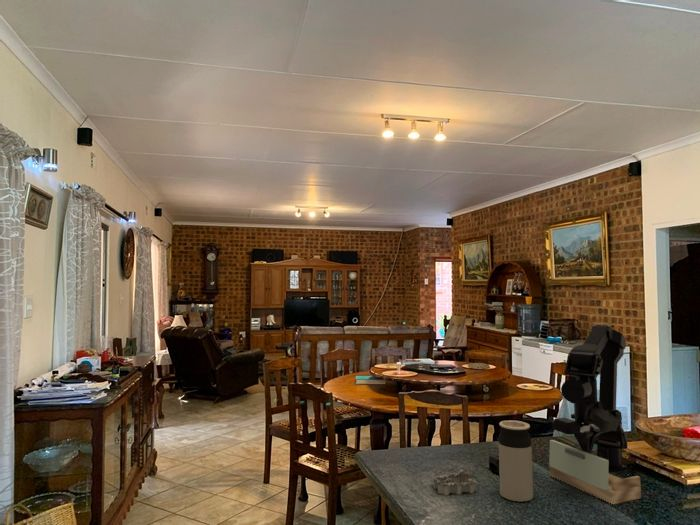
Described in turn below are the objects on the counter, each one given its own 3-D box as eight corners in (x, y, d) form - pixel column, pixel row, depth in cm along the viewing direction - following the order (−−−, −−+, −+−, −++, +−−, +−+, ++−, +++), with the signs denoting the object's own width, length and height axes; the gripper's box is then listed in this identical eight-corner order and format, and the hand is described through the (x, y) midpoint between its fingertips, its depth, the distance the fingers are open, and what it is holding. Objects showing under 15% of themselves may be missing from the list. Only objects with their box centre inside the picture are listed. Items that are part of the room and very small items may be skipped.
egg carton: (468, 483, 132) (468, 468, 133) (479, 494, 125) (478, 478, 125) (430, 485, 131) (430, 470, 131) (439, 497, 124) (438, 480, 124)
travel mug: (529, 505, 118) (527, 430, 119) (496, 498, 122) (494, 425, 123) (535, 493, 125) (533, 422, 126) (504, 487, 129) (502, 418, 130)
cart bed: (576, 470, 140) (576, 452, 141) (641, 498, 122) (640, 476, 122) (550, 476, 137) (549, 457, 137) (612, 504, 118) (611, 482, 118)
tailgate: (552, 465, 136) (553, 439, 136) (608, 489, 119) (608, 460, 120) (547, 465, 135) (548, 440, 136) (602, 490, 119) (603, 460, 119)
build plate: (521, 479, 136) (521, 462, 136) (500, 482, 134) (499, 465, 134) (494, 464, 148) (494, 449, 148) (474, 467, 145) (473, 451, 146)
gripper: (584, 406, 119) (586, 471, 118) (637, 399, 126) (640, 461, 125) (549, 397, 129) (551, 457, 128) (601, 391, 136) (602, 448, 135)
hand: (587, 456), depth 129 cm, fingers closed
